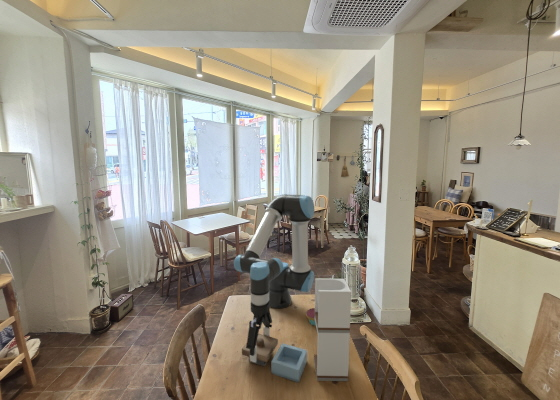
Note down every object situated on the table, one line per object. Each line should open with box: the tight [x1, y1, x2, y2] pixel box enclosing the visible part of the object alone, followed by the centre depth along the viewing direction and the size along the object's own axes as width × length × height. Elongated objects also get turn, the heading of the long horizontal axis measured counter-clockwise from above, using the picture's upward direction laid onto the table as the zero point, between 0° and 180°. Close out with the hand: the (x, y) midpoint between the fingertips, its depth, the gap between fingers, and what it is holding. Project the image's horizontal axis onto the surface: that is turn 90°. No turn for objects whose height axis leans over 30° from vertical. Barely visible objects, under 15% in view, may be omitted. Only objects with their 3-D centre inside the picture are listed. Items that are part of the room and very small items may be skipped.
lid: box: [241, 333, 279, 363], centre depth 102 cm, size 11×11×4 cm
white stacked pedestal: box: [313, 277, 352, 382], centre depth 95 cm, size 11×11×35 cm
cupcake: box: [305, 307, 316, 326], centre depth 126 cm, size 9×8×12 cm
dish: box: [270, 342, 308, 384], centre depth 97 cm, size 11×11×5 cm
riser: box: [248, 357, 270, 367], centre depth 102 cm, size 7×7×4 cm
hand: (260, 350), depth 102 cm, fingers open, 11 cm apart
